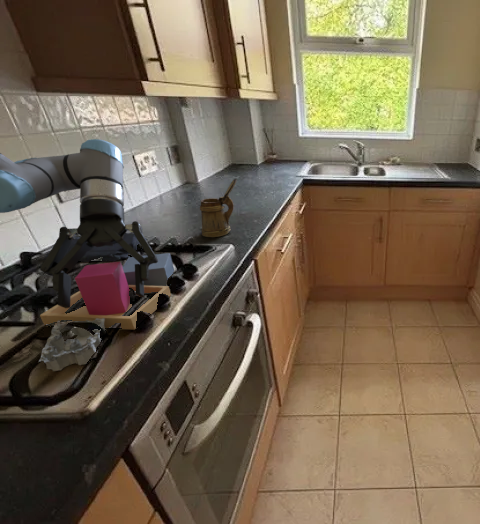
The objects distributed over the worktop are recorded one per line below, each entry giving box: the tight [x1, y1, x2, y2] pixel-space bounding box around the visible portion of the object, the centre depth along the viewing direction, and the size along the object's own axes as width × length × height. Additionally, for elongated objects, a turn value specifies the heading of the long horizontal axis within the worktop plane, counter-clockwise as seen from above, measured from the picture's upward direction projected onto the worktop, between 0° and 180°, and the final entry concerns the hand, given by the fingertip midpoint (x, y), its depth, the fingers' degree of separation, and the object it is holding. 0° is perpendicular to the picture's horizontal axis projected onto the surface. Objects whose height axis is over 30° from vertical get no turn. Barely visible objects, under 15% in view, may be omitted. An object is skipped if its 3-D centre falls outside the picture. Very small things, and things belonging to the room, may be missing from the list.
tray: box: [39, 285, 172, 331], centre depth 69 cm, size 18×13×3 cm
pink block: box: [74, 261, 130, 315], centre depth 68 cm, size 6×6×9 cm
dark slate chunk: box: [43, 232, 149, 263], centre depth 95 cm, size 15×22×5 cm
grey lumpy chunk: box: [38, 318, 107, 372], centre depth 58 cm, size 11×8×4 cm
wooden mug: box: [199, 178, 238, 238], centre depth 109 cm, size 9×14×18 cm, turn 110°
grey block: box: [122, 252, 175, 286], centre depth 80 cm, size 9×9×5 cm
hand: (103, 300), depth 66 cm, fingers open, 12 cm apart
